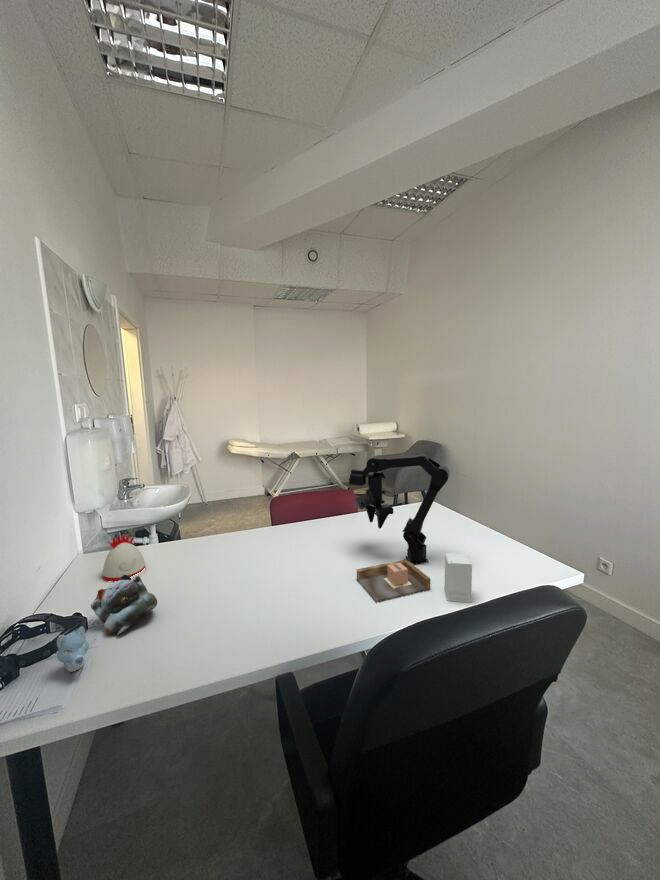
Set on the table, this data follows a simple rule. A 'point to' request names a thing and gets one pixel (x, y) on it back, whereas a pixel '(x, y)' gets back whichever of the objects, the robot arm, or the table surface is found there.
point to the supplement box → (458, 577)
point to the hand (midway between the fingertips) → (375, 525)
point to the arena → (383, 589)
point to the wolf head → (72, 649)
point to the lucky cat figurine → (123, 604)
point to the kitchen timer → (122, 560)
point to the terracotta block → (397, 574)
